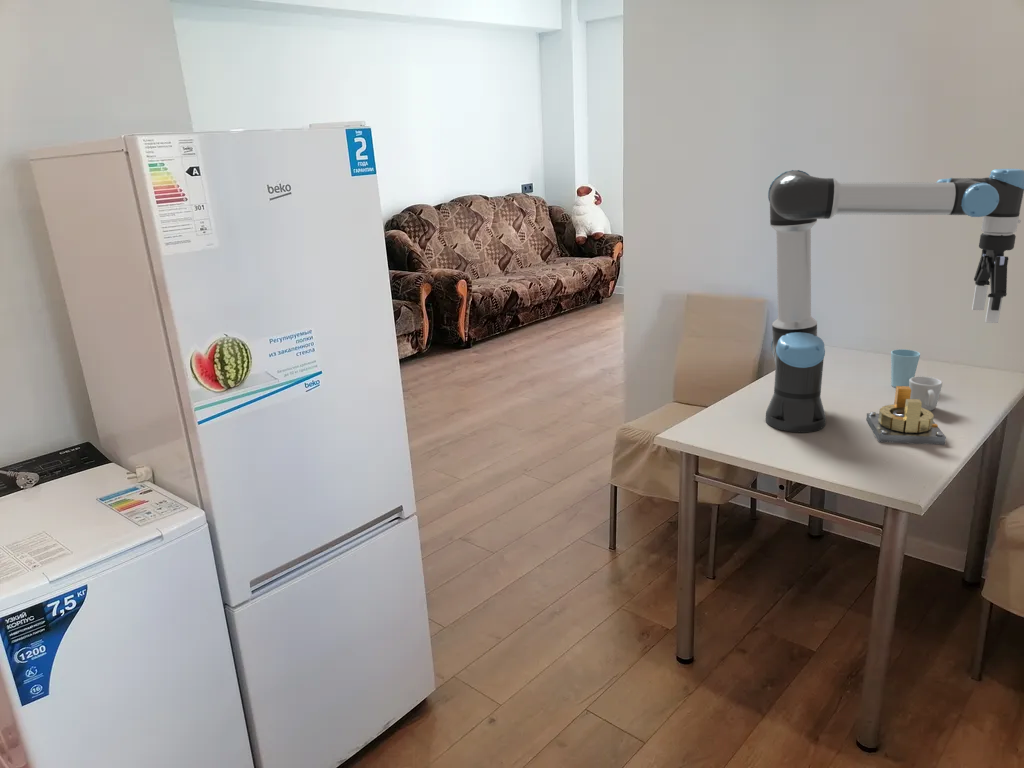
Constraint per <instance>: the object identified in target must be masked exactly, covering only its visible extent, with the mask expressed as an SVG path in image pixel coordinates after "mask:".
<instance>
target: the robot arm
mask: <svg viewBox="0 0 1024 768" xmlns="http://www.w3.org/2000/svg"><path fill="white" fill-rule="evenodd" d="M767 198H768V202H769V218H770V220H769V222H770V223H769V224H770V225H769V226H770V227H772V228H773V229H774V230H775V233H776V276H777V277H776V280H777V282H776V286H777V287H776V290H777V293H776V294H777V318H776V319H775V320H774V321H772V323H771V324H772V333H771V335H772V338H771V339H772V340H771V343H770V347H771V348H770V349H771V350H770V351H771V353H772V355H773V359H774V360H773V361H774V365H775V373H774V387H773V395H772V397H771V400H770V402H769V404H768V406H767V409H766V411H765V422H766V424H767V425H768V426H770V427H773V428H774V429H777V430H781V431H784V432H791V433H810V432H811V433H812V432H818V431H820V430H822V429H823V428H825V426H826V417H827V416H826V411H825V409H824V405H823V401H822V397H821V392H822V384H823V383H822V382H823V381H822V380H823V371H824V361H825V360H824V359H825V355H826V349H825V342H824V340H823V339H822V338H820V336H819V335H818V321H817V320H816V319H815V318H813V317H812V258H811V257H812V244H811V243H812V240H811V239H812V237H811V236H812V235H811V233H812V232H811V231H812V227H813V226H814V225H816V223H817V222H818V220H820V219H821V220H822V219H823V220H825V219H826V220H829V219H832V218H833V217H834V216H837V215H840V216H841V215H845V216H846V215H852V216H853V215H857V216H858V215H859V216H861V215H863V216H865V215H866V216H867V215H868V216H869V215H873V216H874V215H879V216H880V215H881V216H882V215H884V216H885V215H891V216H892V215H897V216H898V215H899V216H901V215H903V216H904V215H905V216H907V215H908V216H909V215H910V216H911V215H913V216H916V215H917V216H918V215H919V216H924V215H925V216H926V215H927V216H928V215H929V216H930V215H931V216H934V215H935V216H936V215H937V216H946V215H947V216H968V217H971V218H981V217H982V221H981V222H982V223H981V228H980V229H981V231H982V233H981V234H980V236H979V237H980V238H979V243H978V248H979V249H981V254H980V259H979V262H978V266H977V268H976V271H975V275H974V278H973V281H974V284H975V286H974V294H973V300H972V305H971V311H985V307H986V300H987V297H988V301H987V302H988V303H987V308H986V313H985V318H984V319H985V320H984V323H989V324H993V323H994V324H999V319H1000V315H1001V308H1002V302H1003V298H1004V297H1006V296H1007V294H1008V293H1007V289H1008V288H1007V284H1008V280H1007V279H1008V263H1009V256H1006V255H1005V252H1006V251H1011V250H1014V248H1015V243H1016V239H1017V238H1016V237H1017V236H1016V234H1015V233H1017V230H1018V224H1021V221H1022V220H1021V219H1020V213H1021V208H1022V203H1023V198H1024V169H1022V168H995V169H993V170H991V171H990V175H988V177H979V178H978V177H977V178H976V177H975V178H973V177H971V178H969V177H967V178H963V177H962V178H961V177H959V178H958V177H957V178H953V177H950V178H941V179H940V178H939V179H938V180H937V181H936V182H931V181H930V182H839V181H838V180H836V178H834V177H833V178H831V177H829V178H825V177H824V178H823V177H818V176H817V177H816V176H811V175H810V174H809V173H808V172H806V171H803V170H800V169H798V170H796V169H795V170H793V169H792V170H787V171H784V172H782V173H780V174H779V175H777V176H776V177H775V178H774V179H773V180H772V182H771V184H770V186H769V188H768V193H767ZM989 286H990V293H988V289H989Z"/></svg>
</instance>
